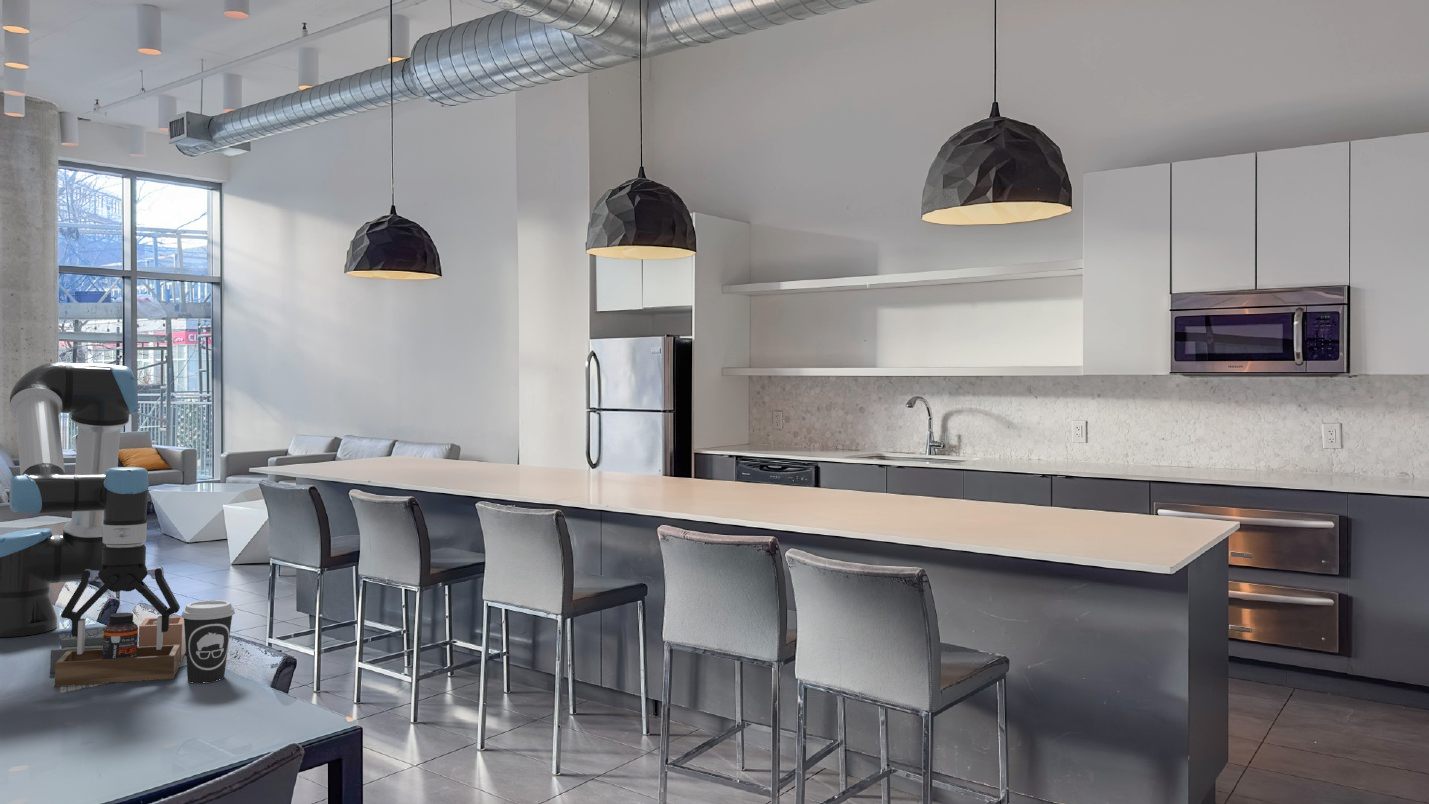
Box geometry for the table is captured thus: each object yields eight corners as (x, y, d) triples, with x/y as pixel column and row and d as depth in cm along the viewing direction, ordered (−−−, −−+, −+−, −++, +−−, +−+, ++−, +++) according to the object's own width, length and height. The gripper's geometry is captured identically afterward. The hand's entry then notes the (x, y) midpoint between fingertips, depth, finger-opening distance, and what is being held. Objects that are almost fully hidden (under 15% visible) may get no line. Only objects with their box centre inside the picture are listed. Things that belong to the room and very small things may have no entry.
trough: (66, 672, 194) (67, 650, 194) (179, 665, 202) (180, 644, 202) (54, 686, 185) (55, 663, 185) (173, 678, 193) (174, 656, 193)
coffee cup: (242, 673, 197) (245, 600, 197) (213, 687, 188) (216, 610, 188) (198, 671, 198) (201, 598, 198) (167, 684, 189) (170, 607, 189)
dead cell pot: (143, 655, 209) (144, 618, 209) (185, 652, 212) (186, 616, 212) (137, 664, 201) (139, 626, 201) (181, 661, 205) (182, 624, 205)
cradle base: (61, 660, 203) (62, 638, 203) (116, 656, 207) (117, 635, 207) (50, 672, 194) (50, 650, 194) (107, 669, 198) (108, 647, 198)
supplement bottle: (120, 675, 190) (122, 618, 190) (94, 673, 191) (96, 616, 191) (143, 668, 196) (145, 612, 196) (118, 665, 197) (120, 610, 197)
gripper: (45, 549, 185) (41, 659, 185) (192, 545, 195) (188, 650, 195) (55, 543, 192) (51, 649, 192) (196, 540, 202) (192, 641, 202)
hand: (120, 650), depth 193 cm, fingers open, 13 cm apart
